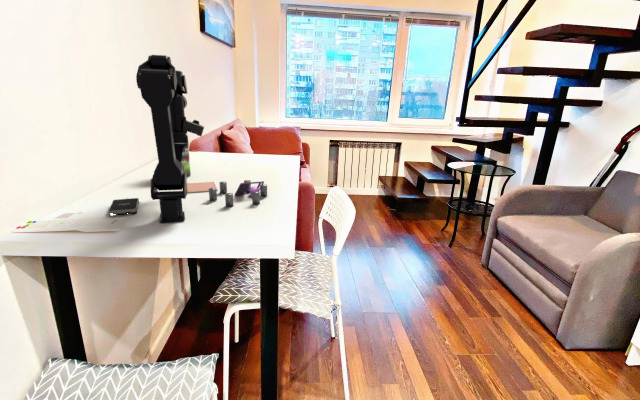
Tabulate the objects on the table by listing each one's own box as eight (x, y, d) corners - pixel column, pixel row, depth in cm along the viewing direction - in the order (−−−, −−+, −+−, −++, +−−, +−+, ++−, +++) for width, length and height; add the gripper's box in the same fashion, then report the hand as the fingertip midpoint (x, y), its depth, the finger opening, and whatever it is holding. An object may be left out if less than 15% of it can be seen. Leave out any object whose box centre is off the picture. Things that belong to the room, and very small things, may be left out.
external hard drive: (109, 217, 98) (108, 211, 97) (114, 205, 108) (113, 199, 107) (136, 215, 101) (136, 208, 100) (139, 203, 110) (138, 197, 110)
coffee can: (195, 175, 146) (193, 141, 142) (182, 181, 136) (179, 145, 132) (173, 173, 148) (170, 140, 143) (158, 179, 138) (154, 143, 134)
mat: (217, 191, 125) (217, 190, 125) (188, 193, 121) (187, 192, 121) (214, 183, 135) (214, 181, 135) (186, 184, 132) (186, 183, 131)
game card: (233, 193, 121) (256, 190, 127) (238, 205, 119) (261, 202, 125) (239, 181, 117) (263, 179, 122) (245, 193, 115) (268, 191, 120)
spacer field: (273, 203, 114) (273, 191, 113) (212, 208, 107) (211, 196, 106) (261, 189, 129) (261, 179, 128) (207, 193, 122) (206, 182, 121)
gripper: (203, 115, 105) (206, 165, 110) (199, 111, 121) (202, 155, 126) (163, 114, 101) (168, 167, 106) (164, 110, 117) (169, 156, 122)
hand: (179, 161), depth 115 cm, fingers open, 9 cm apart
